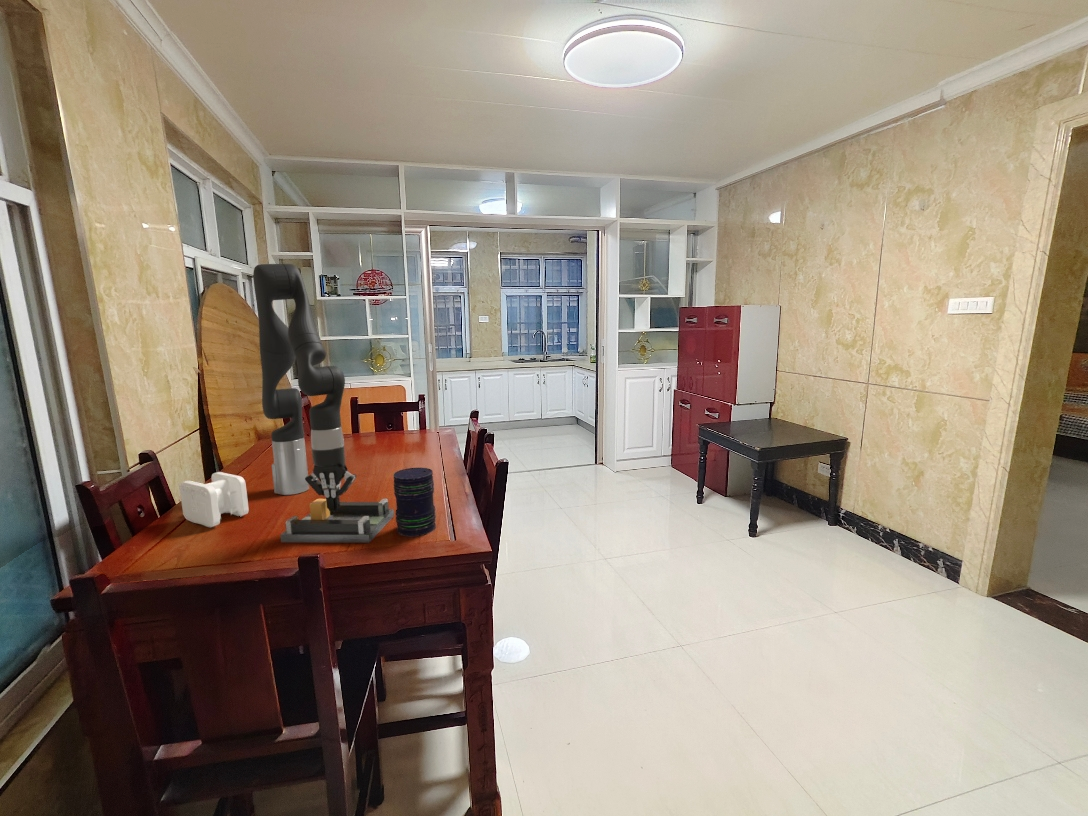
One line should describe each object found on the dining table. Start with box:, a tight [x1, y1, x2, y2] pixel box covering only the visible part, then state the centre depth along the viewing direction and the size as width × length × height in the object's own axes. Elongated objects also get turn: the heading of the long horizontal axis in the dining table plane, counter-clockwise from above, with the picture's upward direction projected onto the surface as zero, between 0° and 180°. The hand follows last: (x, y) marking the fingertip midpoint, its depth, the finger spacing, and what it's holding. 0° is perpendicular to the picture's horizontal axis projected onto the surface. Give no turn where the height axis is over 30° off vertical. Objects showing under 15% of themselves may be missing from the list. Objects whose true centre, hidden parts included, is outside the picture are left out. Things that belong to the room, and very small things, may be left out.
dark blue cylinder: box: [393, 467, 437, 537], centre depth 124 cm, size 10×10×15 cm
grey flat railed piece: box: [280, 498, 395, 544], centre depth 125 cm, size 22×17×5 cm
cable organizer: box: [178, 471, 249, 528], centre depth 133 cm, size 15×11×12 cm
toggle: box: [309, 498, 333, 520], centre depth 125 cm, size 4×4×5 cm
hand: (333, 510), depth 125 cm, fingers closed
